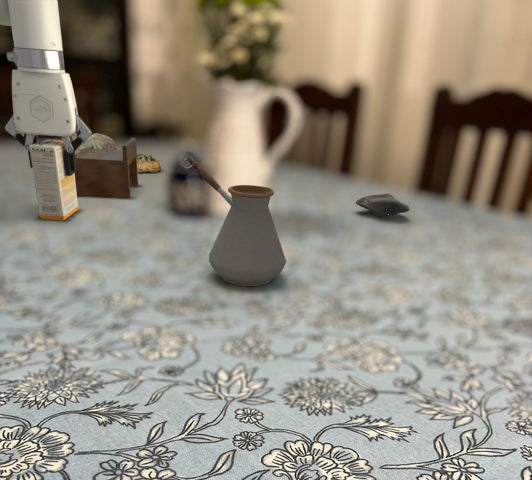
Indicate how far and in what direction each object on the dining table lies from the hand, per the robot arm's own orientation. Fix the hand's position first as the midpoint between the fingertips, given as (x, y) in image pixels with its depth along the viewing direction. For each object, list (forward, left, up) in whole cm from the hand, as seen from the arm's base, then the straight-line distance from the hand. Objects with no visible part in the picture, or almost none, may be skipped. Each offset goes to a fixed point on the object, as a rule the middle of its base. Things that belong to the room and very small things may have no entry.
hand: (54, 172), depth 97 cm
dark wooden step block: (+5, +23, -8) cm, 25 cm away
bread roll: (+9, +51, -8) cm, 52 cm away
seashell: (+68, +12, -8) cm, 70 cm away
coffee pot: (+32, -26, -8) cm, 42 cm away
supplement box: (0, 0, -8) cm, 8 cm away
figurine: (0, +36, -8) cm, 37 cm away
